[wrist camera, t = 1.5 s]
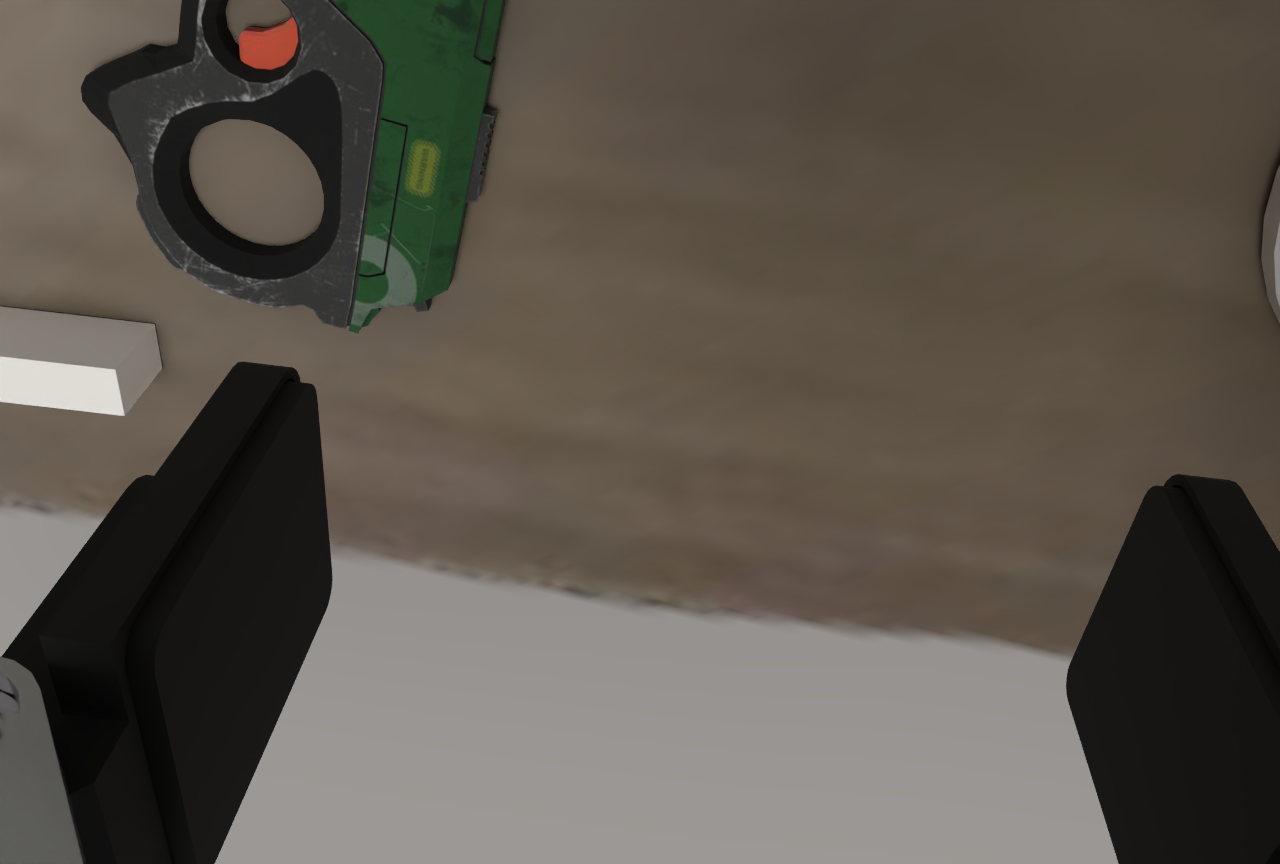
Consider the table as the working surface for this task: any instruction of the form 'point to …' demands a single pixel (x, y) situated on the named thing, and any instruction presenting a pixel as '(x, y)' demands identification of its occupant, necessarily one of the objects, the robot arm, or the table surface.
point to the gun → (319, 143)
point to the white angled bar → (75, 360)
